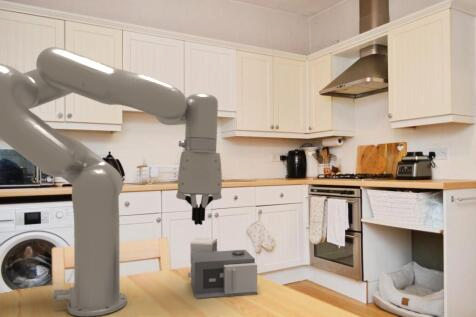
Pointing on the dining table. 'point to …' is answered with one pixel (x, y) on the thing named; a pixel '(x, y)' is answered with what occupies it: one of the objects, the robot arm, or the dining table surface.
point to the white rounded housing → (202, 246)
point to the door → (240, 278)
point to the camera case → (215, 272)
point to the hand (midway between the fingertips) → (198, 223)
